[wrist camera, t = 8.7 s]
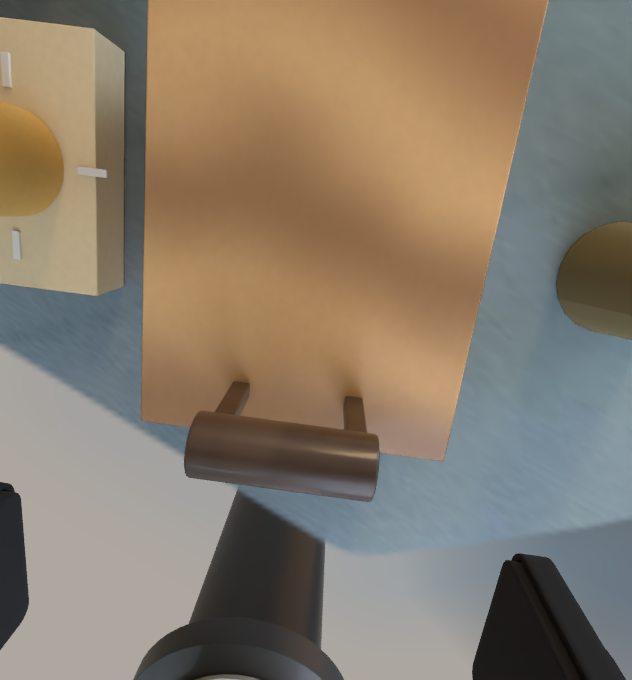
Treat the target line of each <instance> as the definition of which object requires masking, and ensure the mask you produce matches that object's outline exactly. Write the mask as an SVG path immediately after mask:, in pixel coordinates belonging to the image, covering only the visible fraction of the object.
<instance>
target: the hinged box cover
mask: <svg viewBox="0 0 632 680" xmlns="http://www.w3.org/2000/svg"><path fill="white" fill-rule="evenodd" d="M548 2H549V0H148V33H147V93H146V152H145V212H144V271H143V331H142V390H141V420H142V421H148V422H155V423H163V424H170V425H177V426H185V427H190V430H189V433H188V437H187V442H186V448H185V456H184V468H185V473H186V476H188V477H189V478H196V479H204V480H211V481H218V482H225V483H232V484H240V485H247V486H255V487H262V488H269V489H277V490H284V491H291V492H299V493H306V494H313V495H321V496H328V497H335V498H343V499H350V500H357V501H365V502H370V501H372V499H373V497H374V494H375V490H376V485H377V479H378V471H379V457H380V453H386V454H393V455H400V456H408V457H415V458H423V459H430V460H438V461H444V458H445V454H446V449H447V445H448V440H449V436H450V432H451V427H452V423H453V418H454V414H455V410H456V405H457V401H458V397H459V392H460V388H461V383H462V379H463V375H464V370H465V366H466V361H467V357H468V353H469V348H470V344H471V340H472V335H473V331H474V326H475V322H476V318H477V313H478V309H479V304H480V300H481V296H482V291H483V287H484V283H485V278H486V274H487V269H488V265H489V261H490V256H491V252H492V247H493V243H494V239H495V234H496V230H497V225H498V221H499V217H500V212H501V208H502V204H503V199H504V195H505V190H506V186H507V182H508V177H509V173H510V168H511V164H512V160H513V155H514V151H515V147H516V142H517V138H518V133H519V129H520V125H521V120H522V116H523V111H524V107H525V103H526V98H527V94H528V90H529V85H530V81H531V76H532V72H533V68H534V63H535V59H536V54H537V50H538V46H539V41H540V37H541V33H542V28H543V24H544V19H545V15H546V11H547V6H548Z"/></svg>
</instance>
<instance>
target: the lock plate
mask: <svg viewBox="0 0 632 680" xmlns="http://www.w3.org/2000/svg"><path fill="white" fill-rule="evenodd" d="M124 73H125V53H124V51H123V50H121V49H120V48H119V47H117V46H116V45H115V44H113V43H112V42H111V41H109V40H108V39H107V38H105V37H104V36H103V35H101V34H100V33H99V32H97V31H96V30H95V29H92V28H84V27H76V26H68V25H60V24H52V23H44V22H36V21H28V20H20V19H12V18H4V17H0V101H4V102H7V103H10V104H13V105H16V106H19V107H21V108H24V109H26V110H28V111H29V112H31V113H33V114H34V115H36V116H37V117H38V118H39V119H40V120H41V121H42V122H43V123H44V124H45V125H46V126H47V127H48V128H49V130H50V131H51V132H52V134H53V136H54V137H55V139H56V141H57V143H58V145H59V148H60V151H61V154H62V159H63V167H64V173H63V181H62V185H61V189H60V191H59V193H58V195H57V197H56V198H55V200H54V201H53V202H52V203H51V204H50V205H49V206H48V207H47V208H46V209H44V210H43V211H41V212H39V213H37V214H34V215H30V216H19V217H0V283H2V284H10V285H17V286H25V287H32V288H40V289H48V290H55V291H63V292H71V293H78V294H86V295H93V296H98V295H101V294H104V293H107V292H110V291H113V290H115V289H118V288H121V287H123V286H124Z"/></svg>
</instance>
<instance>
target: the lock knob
mask: <svg viewBox="0 0 632 680" xmlns="http://www.w3.org/2000/svg"><path fill="white" fill-rule="evenodd" d="M63 173H64V167H63V159H62V154H61V151H60V148H59V145H58V143H57V141H56V139H55V137H54V136H53V134H52V132H51V131H50V130H49V128H48V127H47V126H46V125H45V124H44V123H43V122H42V121H41V120H40V119H39V118H38V117H37V116H36V115H34V114H33V113H31V112H29V111H28V110H26V109H24V108H21V107H19V106H16V105H13V104H10V103H7V102H4V101H0V217H19V216H30V215H34V214H37V213H39V212H41V211H43V210H44V209H46V208H47V207H48V206H49V205H50V204H51V203H52V202H53V201H54V200H55V198H56V197H57V195H58V193H59V191H60V189H61V185H62V181H63Z"/></svg>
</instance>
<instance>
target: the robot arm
mask: <svg viewBox="0 0 632 680" xmlns="http://www.w3.org/2000/svg"><path fill="white" fill-rule="evenodd" d="M28 604H29V597H28V584H27V571H26V558H25V546H24V533H23V520H22V507H21V498H20V495H19V494H18V493H15V492H14V488H13V486H12V485H10V484H8V483H2V482H0V650H1V648H2V647H3V646H4V644H5V643H6V642H7V641H8V639H9V638H10V636H11V635H12V634H13V633H14V631H15V630H16V628H17V627H18V626H19V625H20V623H21V622H22V620H23V618H24V616H25V614H26V612H27V609H28ZM472 675H473V680H626V679H625V677H624V676H623V674H622V672H621V671H620V669H619V667H618V666H617V664H616V663H615V661H614V659H613V658H612V657H611V655H610V654H609V653H608V651H607V650H606V649H605V648H604V646H603V645H602V643H601V641H600V640H599V638H598V636H597V635H596V633H595V631H594V630H593V628H592V626H591V625H590V623H589V621H588V620H587V618H586V616H585V615H584V613H583V611H582V610H581V608H580V606H579V605H578V603H577V601H576V600H575V598H574V596H573V595H572V593H571V592H570V590H569V588H568V586H567V585H566V583H565V581H564V580H563V578H562V576H561V575H560V573H559V571H558V570H557V568H556V566H555V565H554V563H553V562H552V561H551V560H550V559H549V558H547V557H540V556H533V555H526V554H515V555H514V556H513V558H512V560H511V561H509V560H506V561H505V562H504V563H503V566H502V569H501V572H500V575H499V579H498V582H497V585H496V589H495V592H494V596H493V599H492V602H491V606H490V609H489V613H488V616H487V619H486V622H485V626H484V629H483V632H482V636H481V639H480V642H479V646H478V649H477V652H476V656H475V659H474V663H473V670H472ZM195 680H260V679H257V678H254V677H249V676H244V675H238V674H218V675H210V676H205V677H202V678H198V679H195Z"/></svg>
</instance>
